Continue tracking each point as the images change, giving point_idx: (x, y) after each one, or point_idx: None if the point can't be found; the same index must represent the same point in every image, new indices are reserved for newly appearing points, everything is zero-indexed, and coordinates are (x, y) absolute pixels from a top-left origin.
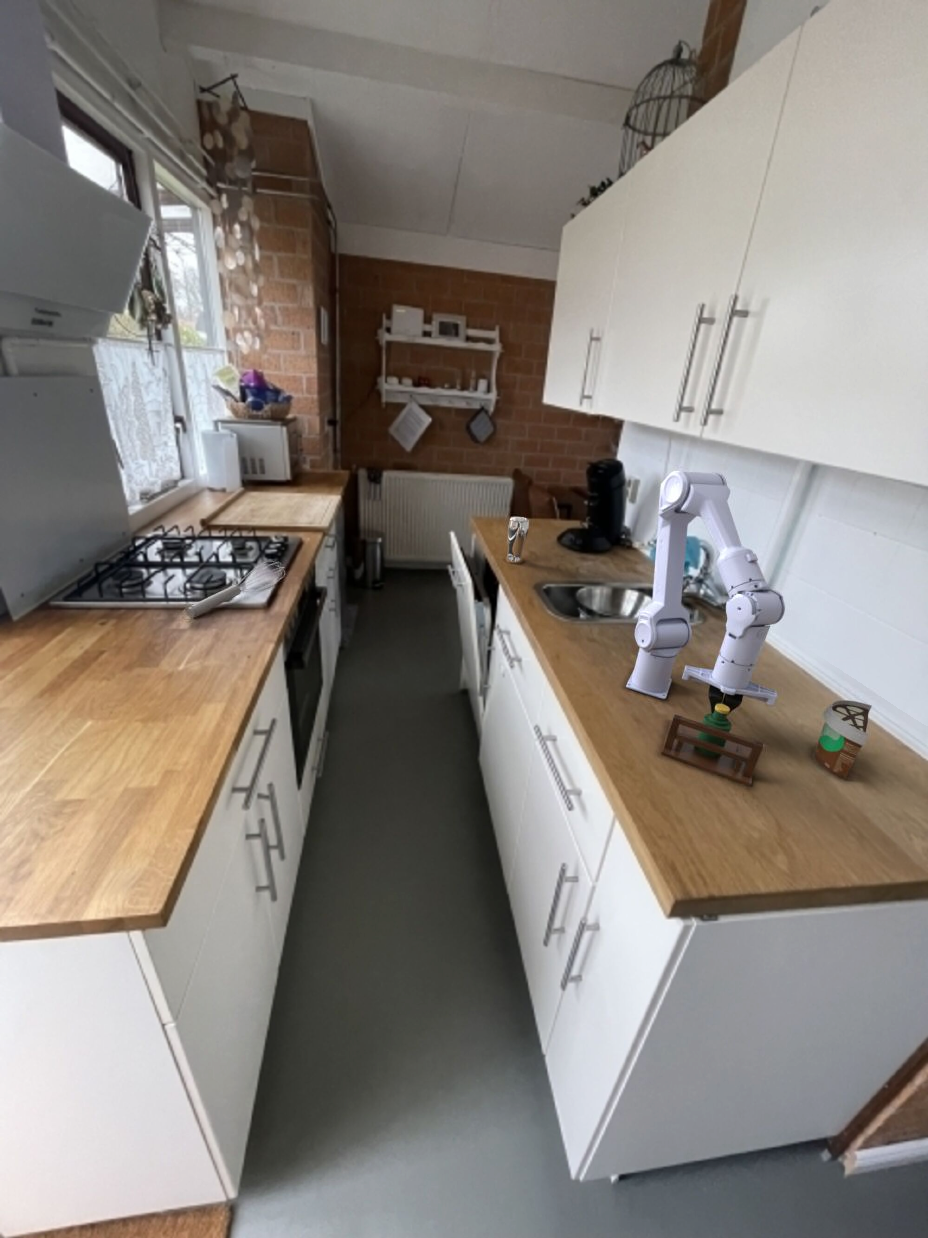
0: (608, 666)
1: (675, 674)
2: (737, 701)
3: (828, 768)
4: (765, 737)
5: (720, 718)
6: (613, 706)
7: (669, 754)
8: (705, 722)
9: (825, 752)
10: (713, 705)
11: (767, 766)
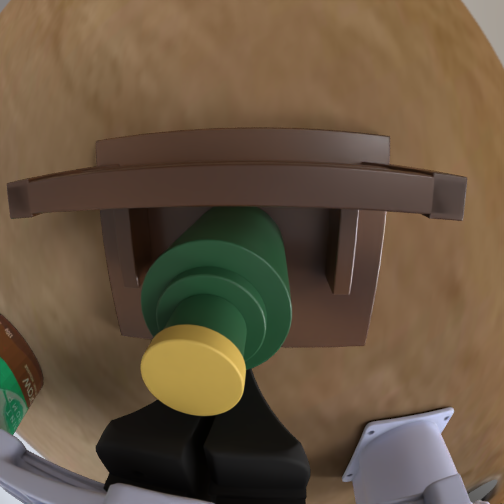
0: (463, 441)
1: (329, 492)
2: (110, 444)
3: (8, 327)
4: (116, 392)
5: (196, 303)
6: (496, 315)
7: (364, 134)
8: (279, 271)
9: (3, 354)
10: (254, 409)
11: (80, 276)
